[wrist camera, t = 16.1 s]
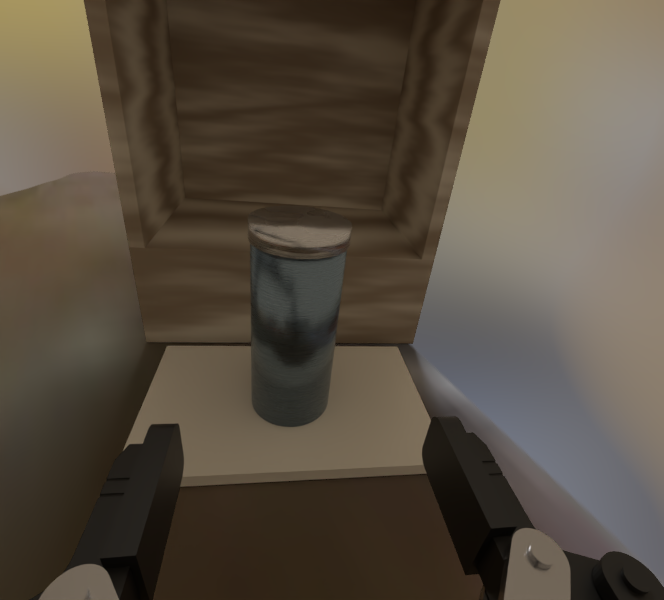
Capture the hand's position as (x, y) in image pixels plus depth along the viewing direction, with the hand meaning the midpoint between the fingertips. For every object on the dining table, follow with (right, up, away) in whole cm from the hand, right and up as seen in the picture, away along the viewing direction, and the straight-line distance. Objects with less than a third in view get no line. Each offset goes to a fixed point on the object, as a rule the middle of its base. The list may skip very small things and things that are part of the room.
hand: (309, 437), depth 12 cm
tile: (-2, -3, +13) cm, 13 cm away
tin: (-2, -2, +13) cm, 13 cm away
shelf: (-4, +4, +25) cm, 26 cm away
